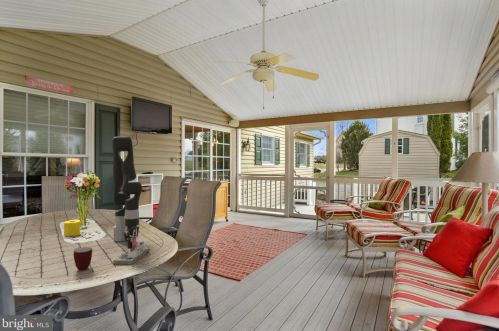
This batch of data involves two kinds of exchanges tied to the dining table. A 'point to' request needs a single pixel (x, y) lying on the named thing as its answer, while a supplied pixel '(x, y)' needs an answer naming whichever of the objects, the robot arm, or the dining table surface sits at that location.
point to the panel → (125, 260)
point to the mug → (82, 258)
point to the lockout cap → (133, 242)
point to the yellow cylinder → (72, 228)
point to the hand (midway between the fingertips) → (131, 246)
